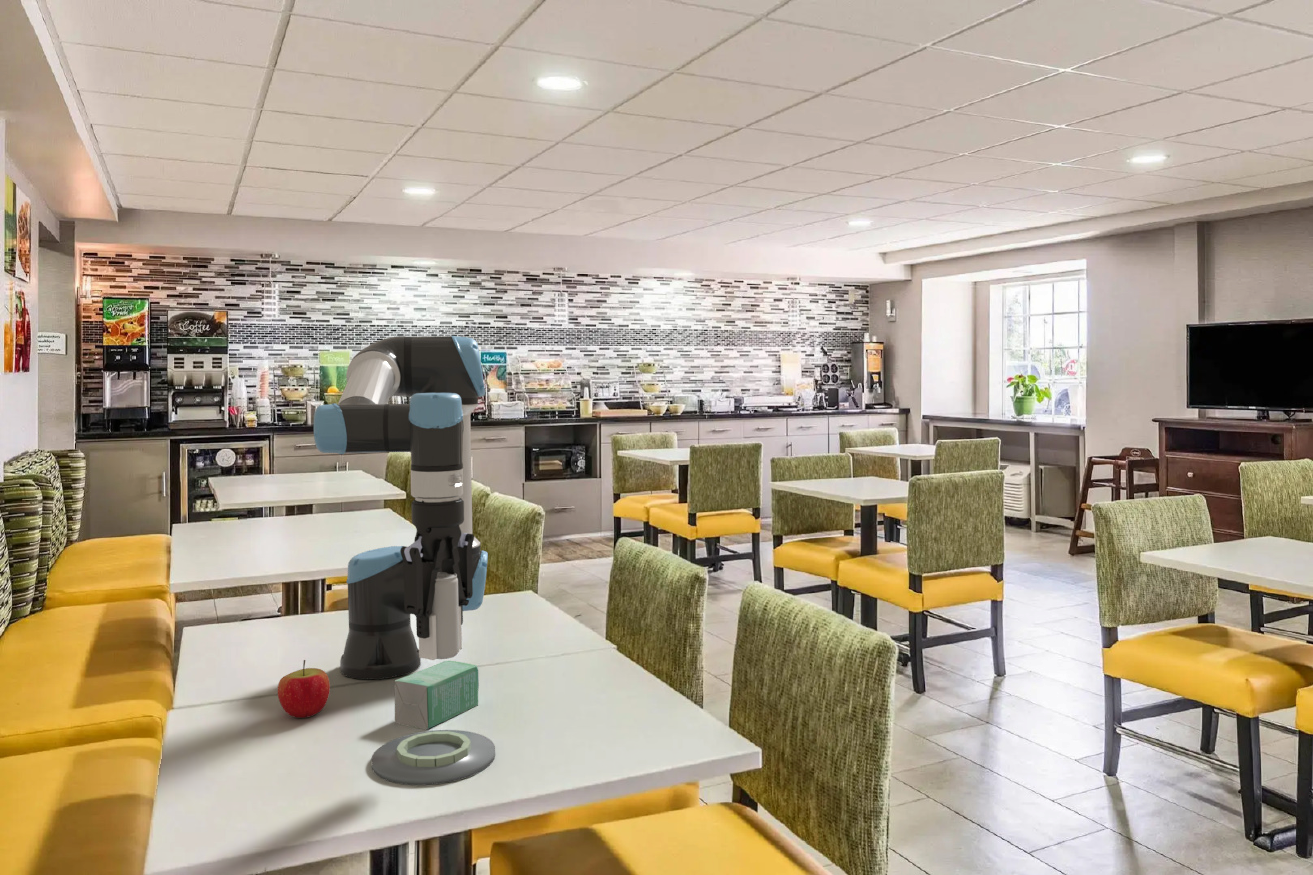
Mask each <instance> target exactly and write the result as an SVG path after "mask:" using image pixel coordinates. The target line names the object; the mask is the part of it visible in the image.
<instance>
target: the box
mask: <svg viewBox="0 0 1313 875" xmlns="http://www.w3.org/2000/svg"><path fill="white" fill-rule="evenodd" d="M479 681H480V680H479V668H478V666H477V665H476V664H472V663H467V662H461V661H456V660H455V661H454V660H444V661H442V662H439V663H436V664H433V665H431V666H429V667H426V668H424V669H421V670H419V671H417V672H414V673H411V674H408V675H406V676H403V677H401V678H398V679H396V680H394V722H395V724H398V725H402V726H406V727H410V728H415V729H418V730H419V729H421V730H424V731H425V730H426V731H427V730H429V729H431V728H432V727H435V726H437V725H439V724H441V723H444V722H446V721H448V720H450V719H452V718H454V717H456V716H458V715H460V714H462V713H464V712H466V711H469V710H470V709H473V708H474V707H477V706H478V705H479V686H480V683H479Z"/></svg>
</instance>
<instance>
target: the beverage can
mask: <svg viewBox="0 0 1313 875" xmlns="http://www.w3.org/2000/svg"><path fill="white" fill-rule="evenodd" d="M435 580H436V583H435V593H434V600H433V607H432V613H431V614H432V615H436V643H437V659H436V660H446V659H451V658H454V657H455V656H457V655H458V653H459V652H460V650H459V606H458V578H457V574H455V573H454V574H447V573H446V572H438V573H437V579H435Z"/></svg>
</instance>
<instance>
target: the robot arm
mask: <svg viewBox="0 0 1313 875" xmlns="http://www.w3.org/2000/svg"><path fill="white" fill-rule="evenodd" d="M349 362H350V363H349V364H348V367H347V369H346V385H345V387H344V390H343V391H342V394H341V396H340V398H339V401H338V402H335V403H334V402H332V403H331V404H320V405H318V406H317V407H316V409H315V411H314V413H313V438H314V444H315V447H316V449H317V451H319V452H321V453H323V454H337V455H345V454H371V453H375V454H377V453H410V462H411V463H410V495H411V497H412V498H414V499H413V500H412V502H411V522H412V525H413V526H414V527H415V528H416V533H415V537H414V542H413V543H412V544H410V545H409V546H405V545H401V546H400V545H399V546H398V545H394V546H393V545H392V546H386V547H385V546H384V547H379V548H375V549H369V550H365V551H364V552H360V553H357V554H356V555H353V557H352V558H350V560H349V561H348V564H347V579H346V584H347V598H348V599H347V604H348V605H347V606H348V609H347V610H348V612H347V613H348V634H347V637H346V640H345V646H344V650H343V654H342V655H341V657H340V660H339V665H340V666H339V668H340V673H341V675H343V676H344V677H347V678H352V679H359V680H380V679H381V680H383V679H390V678H391V679H392V678H395V677H400V676H403V675H406V674H410V673H412V672H414V671H416V670H418V669H419V668H420V667H421V661H422V660H421V659H425V660H430V661H436V660H438V659H437V643H436V615H432V614H431V613H432V607H433V600H434V593H435V583H436V580H435V579H437V573H438V572H446V573H447V574H454V573H455V574H457V578H458V606H459V651H460V650H462V649H463V648H462V647H463V646H462V640H463V638H462V637H463V636H462V625H463V622H464V612H468V611H476V610H478V609H480V607H481V606H482V605H483V600H484V595H485V589H486V578H487V572H488V571H487V568H488V559H489V556H488V555H489V554H488V552H487V551H486V550H481V541H479V539H477V537H476V536H474V534H473V498H472V497H473V495H472V494H473V493H472V491H473V490H472V489H473V488H472V486H473V485H472V437H471V436H472V434H471V431H472V430H471V423H472V422H471V415H472V413H473V412H474V410H476V409H477V407H478V406H479V398H482V397H484V396H485V395H486V389H485V383H484V376H483V375H484V374H483V368H482V362H481V355H480V350H479V344H478V342H477V340H475V339H474V338H472V337H466V336H456V335H451V336H450V335H449V336H448V335H447V336H446V335H445V336H444V335H443V336H440V335H439V336H407V335H406V336H404V335H403V336H402V335H400V336H392V337H388V338H387V337H386V338H383V339H381V340H378V341H375V342H374V343H372V344H369V345H368V346H366V347H364V348H363V349H362V350H360V351H358V352H357V353H356V354H355V355H354V356H353V358H352V359H351V360H350V361H349ZM391 397H407V398H410V399H409V403H389V400H390V398H391ZM411 615H414V616H415V620H416V625H415V626H416V627H415V628H416V637H417V638H418V645H417V642H416V638H415V635H414V633H413V629H412V626H411V625H412V624H411Z"/></svg>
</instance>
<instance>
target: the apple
mask: <svg viewBox="0 0 1313 875" xmlns="http://www.w3.org/2000/svg"><path fill="white" fill-rule="evenodd" d="M302 664H303V666H302V668H301V669H298V670H296V671H293V672H290V673H288V674H286V675H284V676H282V677H281V678H280V680H279V682H278V685H277V697H278V701H279V703H280V705H281V708H282V709H283V710H284V712H285V713H286V714H288V715H289V716H290V717H293V718H295V719H296V718H299V719H305V718H309V717H313V716H314V715H317V714H318V713H320V712H321V711H322V710H323V709H324V707H325V705H326V704H327V701H329V700H328V699H329V697H330V696H329V695H330V690H331V685H330V684H331V683H330V678H329V676H328V673H326V671H325V670H323V669H321V668H315V667H309V668H308V667H307V668H306V667H305V665H306V659H304V660H303V663H302Z"/></svg>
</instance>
